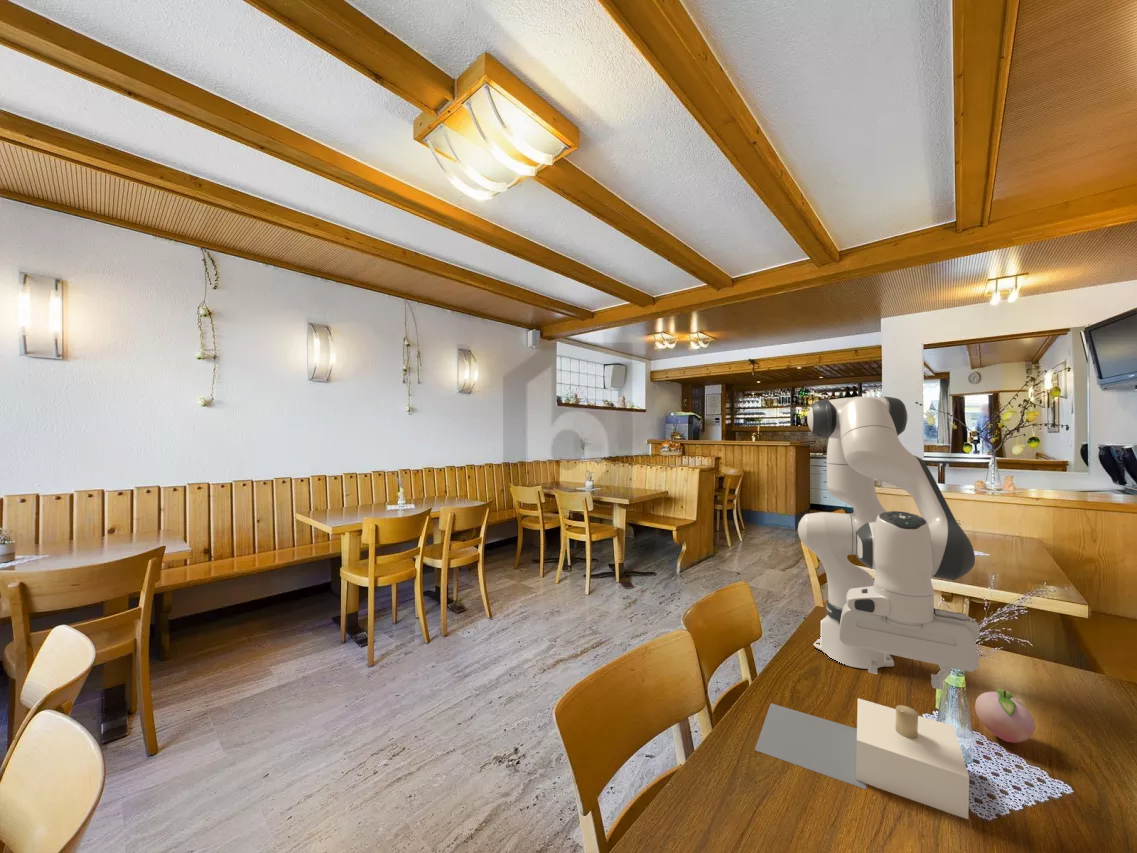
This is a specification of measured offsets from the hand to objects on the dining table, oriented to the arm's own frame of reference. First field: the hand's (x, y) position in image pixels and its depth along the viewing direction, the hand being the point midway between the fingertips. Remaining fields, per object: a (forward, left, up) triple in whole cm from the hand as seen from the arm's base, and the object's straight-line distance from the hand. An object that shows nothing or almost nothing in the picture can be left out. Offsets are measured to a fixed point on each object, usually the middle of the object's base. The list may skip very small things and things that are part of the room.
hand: (903, 679), depth 83 cm
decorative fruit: (-21, +17, -17) cm, 32 cm away
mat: (0, -15, -17) cm, 22 cm away
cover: (0, 0, -16) cm, 16 cm away
